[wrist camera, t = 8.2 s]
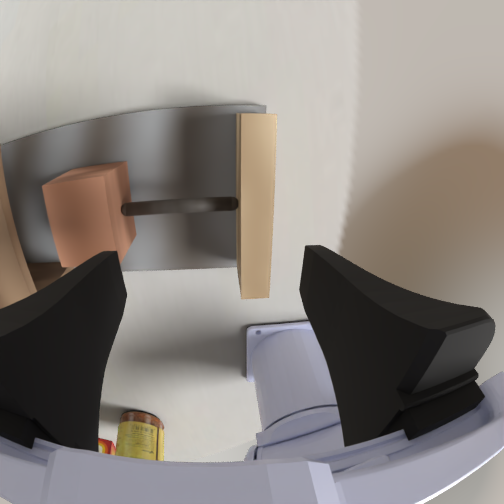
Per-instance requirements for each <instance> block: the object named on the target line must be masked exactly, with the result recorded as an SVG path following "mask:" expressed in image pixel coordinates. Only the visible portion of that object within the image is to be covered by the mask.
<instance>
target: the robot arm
mask: <svg viewBox="0 0 504 504" xmlns="http://www.w3.org/2000/svg"><path fill="white" fill-rule="evenodd" d="M299 290H300V294H301V298H302V302H303V306H304V309H305V312H306V315H307V317H308V319H309V321H306V322H296V323H285V324H274V325H261V326H250V327H248V328H247V381H248V382H255V388H256V394H257V400H258V407H259V413H260V419H261V425H262V432H259V433H256V438H257V445H254V446H252V447H250V448H249V450H248V452H247V455H246V456H245V459H244V461H239V462H215V463H214V462H211V463H210V462H209V463H208V462H206V463H201V462H170V461H157V460H146V459H137V458H129V457H122V456H116V455H110V454H104V453H99V443H98V429H99V409H100V400H101V391H102V384H103V378H104V372H105V368H106V364H107V360H108V357H109V354H110V351H111V348H112V345H113V342H114V339H115V336H116V333H117V331H118V328H119V325H120V322H121V319H122V316H123V312H124V308H125V303H126V298H127V292H126V288H125V284H124V280H123V275H122V271H121V266H120V262H119V257H118V252H117V251H103V252H100V253H98V254H96V255H95V256H93V257H91V258H90V259H88V260H86V261H85V262H83V263H82V264H80V265H79V266H77V267H76V268H74V269H73V270H71V271H70V272H68V273H67V274H65V275H64V276H62V277H60V278H59V279H57V280H56V281H54V282H53V283H51V284H50V285H48V286H46V287H45V288H43V289H41V290H39V291H37V292H36V293H34V294H32V295H30V296H28V297H26V298H24V299H22V300H20V301H17V302H15V303H13V304H11V305H9V306H6V307H4V308H1V309H0V497H2V498H4V499H5V500H7V501H9V502H11V503H12V504H423V503H425V502H427V501H428V500H430V499H432V498H434V497H436V496H437V495H439V494H440V493H442V492H444V491H446V490H447V489H449V488H451V487H452V486H454V485H455V484H457V483H458V482H460V481H461V480H463V479H464V478H466V477H467V476H469V475H470V474H471V473H473V472H474V471H476V470H477V469H478V468H480V467H481V466H482V465H483V464H485V463H486V462H488V461H489V460H490V459H491V458H493V457H494V456H495V455H496V454H498V453H499V452H500V451H501V450H502V449H503V448H504V372H500V373H498V374H496V375H495V376H493V377H491V378H490V379H488V380H486V381H485V382H484V383H482V385H480V386H478V385H477V383H476V382H475V380H476V379H477V378H478V373H477V372H476V370H475V369H474V368H475V366H476V365H477V363H478V362H479V360H480V359H481V358H482V356H483V354H484V353H485V351H486V350H487V348H488V347H489V345H490V343H491V341H492V339H493V336H494V333H495V322H494V320H493V319H492V318H491V317H490V316H489V315H488V314H487V312H486V311H485V310H483V309H482V308H478V307H471V306H466V305H459V304H454V303H449V302H445V301H441V300H437V299H433V298H430V297H426V296H423V295H420V294H417V293H414V292H411V291H409V290H406V289H403V288H401V287H399V286H396V285H394V284H392V283H389V282H387V281H385V280H383V279H381V278H379V277H377V276H375V275H373V274H371V273H369V272H368V271H365V270H364V269H362V268H360V267H359V266H357V265H355V264H353V263H352V262H350V261H348V260H346V259H345V258H343V257H342V256H340V255H338V254H337V253H335V252H333V251H331V250H329V249H328V248H326V247H323V246H321V245H306V246H305V251H304V259H303V267H302V274H301V282H300V289H299ZM258 330H260V331H258ZM257 331H258V332H257Z"/></svg>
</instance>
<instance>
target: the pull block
mask: <svg viewBox="0 0 504 504" xmlns="http://www.w3.org/2000/svg"><path fill="white" fill-rule="evenodd" d="M276 133H277V114H265V113H236V198H235V197H232V196H230V197H204V198H184V199H167V200H152V201H139V202H132V200H131V193H130V184H129V175H128V165H127V161H123V162H115V163H108V164H101V165H94V166H88V167H81V168H76V169H72V170H70V171H68V172H66V173H64V174H62V175H61V176H59V177H57V178H55V179H53V180H52V181H50V182H48V183H46V184H44V185H43V186H42V189H43V194H44V199H45V204H46V209H47V214H48V218H49V222H50V227H51V231H52V234H53V238H54V242H55V246H56V249H57V253H58V256H59V259H60V262H61V266H62V267H77V266H79V265H80V264H82V263H83V262H85V261H86V260H88V259H90V258H91V257H93V256H95V255H96V254H98V253H100V252H103V251H117V252H118V257H119V262H120V264H121V262H122V260H123V259H124V257H125V255H126V253H127V251H128V249H129V248H130V246H131V244H132V242H133V240H134V239H135V237H136V235H137V234H136V228H135V222H134V216H140V215H156V214H172V213H191V212H213V211H234V210H236V253H237V270H238V278H239V285H240V292H241V299H256V298H269V291H270V273H271V255H272V235H273V214H274V190H275V164H276Z"/></svg>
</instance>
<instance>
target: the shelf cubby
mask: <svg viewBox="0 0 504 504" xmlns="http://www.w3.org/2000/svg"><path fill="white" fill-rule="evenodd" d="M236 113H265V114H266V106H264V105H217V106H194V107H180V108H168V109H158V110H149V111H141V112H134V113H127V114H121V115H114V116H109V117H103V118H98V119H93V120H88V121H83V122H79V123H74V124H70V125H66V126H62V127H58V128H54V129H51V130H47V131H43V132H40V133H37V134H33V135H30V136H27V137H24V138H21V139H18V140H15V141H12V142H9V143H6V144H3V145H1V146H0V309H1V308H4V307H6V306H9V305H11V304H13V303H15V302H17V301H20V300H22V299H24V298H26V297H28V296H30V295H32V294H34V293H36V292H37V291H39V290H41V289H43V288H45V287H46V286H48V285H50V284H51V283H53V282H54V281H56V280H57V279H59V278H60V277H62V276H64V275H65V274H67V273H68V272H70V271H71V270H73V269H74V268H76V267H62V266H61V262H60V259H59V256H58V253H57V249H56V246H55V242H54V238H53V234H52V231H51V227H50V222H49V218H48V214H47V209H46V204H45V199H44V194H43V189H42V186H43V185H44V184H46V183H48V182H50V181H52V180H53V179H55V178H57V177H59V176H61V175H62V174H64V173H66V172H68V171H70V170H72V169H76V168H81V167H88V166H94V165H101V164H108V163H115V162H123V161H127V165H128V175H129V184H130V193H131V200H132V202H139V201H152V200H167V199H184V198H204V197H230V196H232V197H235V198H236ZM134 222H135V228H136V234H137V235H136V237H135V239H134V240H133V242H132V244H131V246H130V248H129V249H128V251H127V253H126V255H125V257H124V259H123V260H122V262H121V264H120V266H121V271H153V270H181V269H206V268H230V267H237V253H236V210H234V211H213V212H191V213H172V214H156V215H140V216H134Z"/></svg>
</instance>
